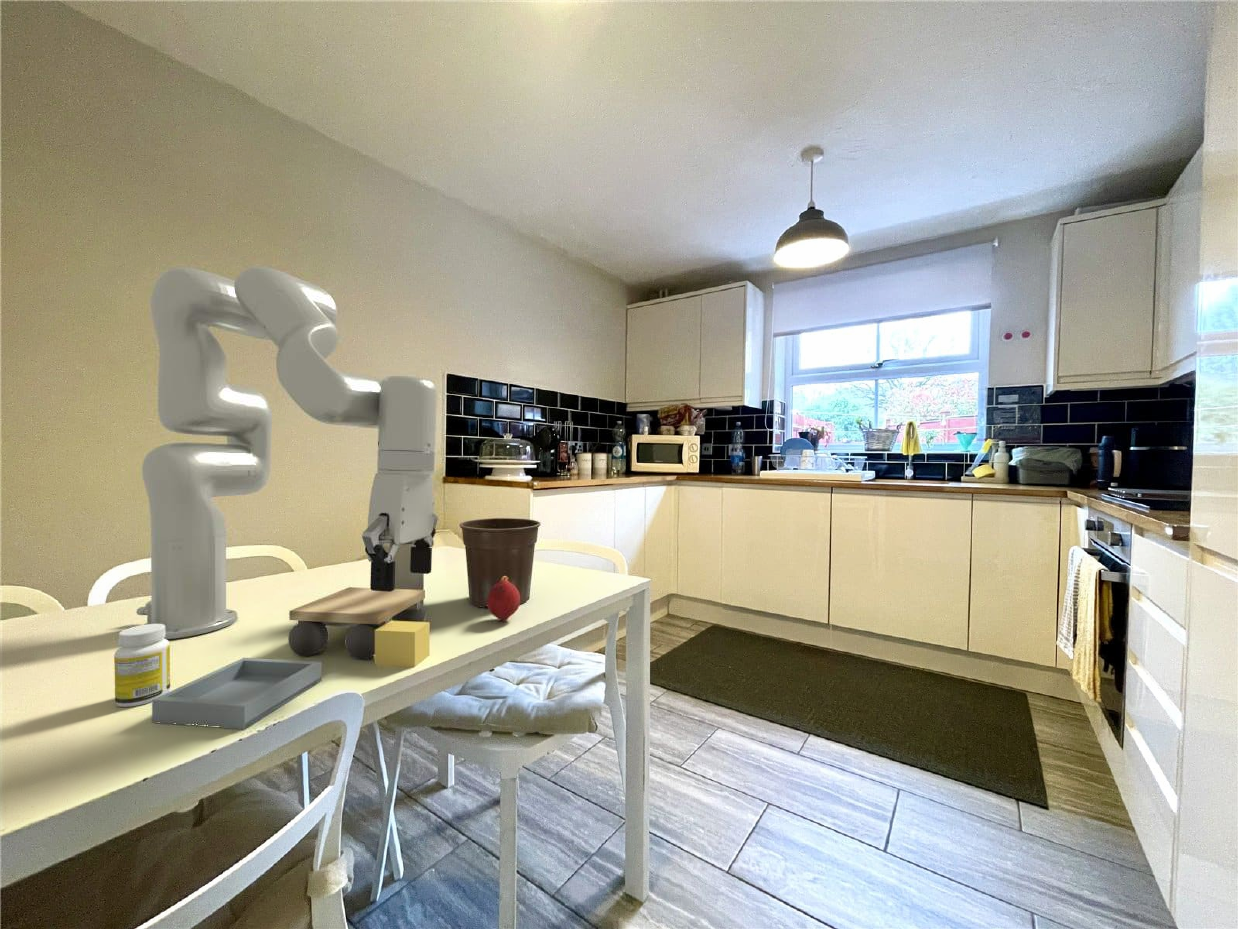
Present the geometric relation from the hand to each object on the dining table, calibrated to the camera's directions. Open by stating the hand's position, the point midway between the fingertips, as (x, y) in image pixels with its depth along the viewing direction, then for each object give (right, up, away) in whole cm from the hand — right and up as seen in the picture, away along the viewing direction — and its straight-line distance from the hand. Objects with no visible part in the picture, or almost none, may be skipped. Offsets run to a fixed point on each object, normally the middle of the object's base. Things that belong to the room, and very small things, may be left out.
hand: (402, 581), depth 69 cm
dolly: (-10, -11, +7) cm, 16 cm away
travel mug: (-11, -11, +23) cm, 28 cm away
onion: (+11, -12, +17) cm, 23 cm away
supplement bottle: (-26, -12, -11) cm, 31 cm away
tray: (-14, -11, -12) cm, 21 cm away
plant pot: (+7, -11, +29) cm, 32 cm away
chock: (0, -12, 0) cm, 12 cm away
